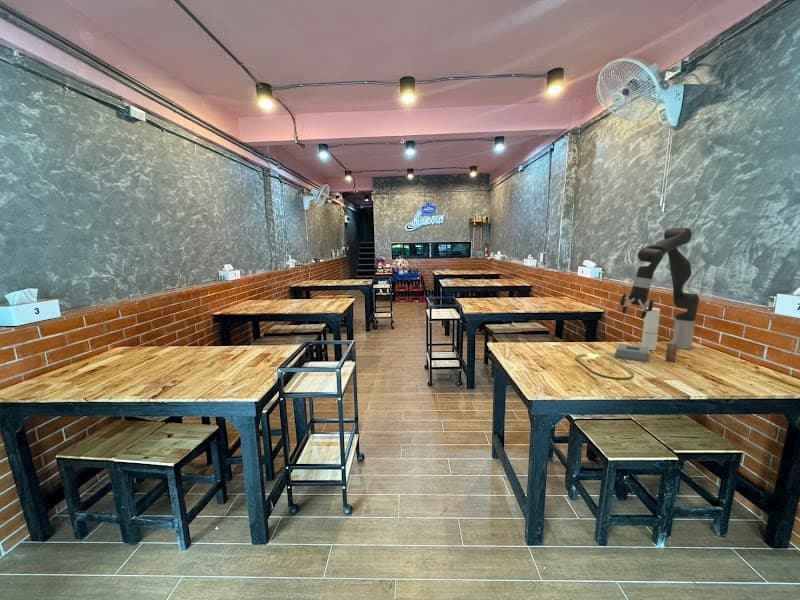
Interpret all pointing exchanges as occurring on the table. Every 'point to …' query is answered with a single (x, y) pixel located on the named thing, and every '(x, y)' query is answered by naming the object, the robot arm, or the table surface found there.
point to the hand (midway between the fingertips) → (632, 315)
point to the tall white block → (651, 329)
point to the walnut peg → (671, 352)
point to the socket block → (632, 353)
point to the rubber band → (609, 360)
